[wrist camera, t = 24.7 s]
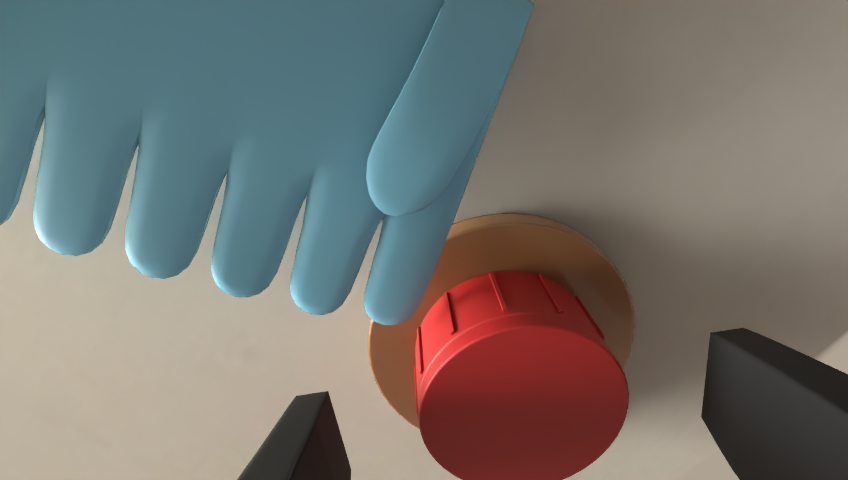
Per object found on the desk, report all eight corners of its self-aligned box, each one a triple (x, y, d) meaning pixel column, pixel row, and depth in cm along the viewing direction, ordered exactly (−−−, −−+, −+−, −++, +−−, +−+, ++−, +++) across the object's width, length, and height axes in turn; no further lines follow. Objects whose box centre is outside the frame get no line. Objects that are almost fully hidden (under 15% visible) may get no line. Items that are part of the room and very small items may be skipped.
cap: (605, 272, 10) (653, 329, 8) (570, 415, 12) (604, 491, 10) (421, 265, 10) (425, 322, 8) (410, 413, 11) (412, 490, 9)
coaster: (676, 304, 11) (691, 319, 11) (511, 462, 13) (516, 481, 12) (478, 157, 10) (483, 164, 9) (320, 359, 11) (316, 376, 11)
